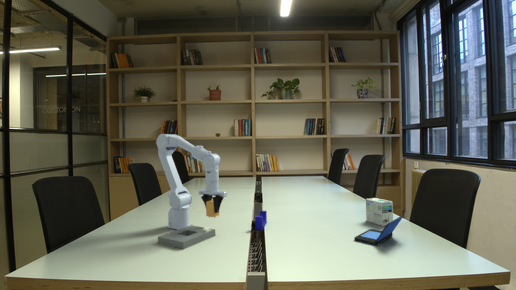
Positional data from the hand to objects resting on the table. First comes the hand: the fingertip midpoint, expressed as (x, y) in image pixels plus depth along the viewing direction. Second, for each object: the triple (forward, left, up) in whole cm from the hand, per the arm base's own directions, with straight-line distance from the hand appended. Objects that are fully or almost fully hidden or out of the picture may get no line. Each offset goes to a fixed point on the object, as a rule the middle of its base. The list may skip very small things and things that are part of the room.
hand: (212, 211), depth 128 cm
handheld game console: (+65, +22, -9) cm, 69 cm away
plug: (0, 0, -2) cm, 2 cm away
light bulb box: (+61, +48, -9) cm, 78 cm away
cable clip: (+14, +16, -9) cm, 23 cm away
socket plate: (-2, -13, -8) cm, 16 cm away
